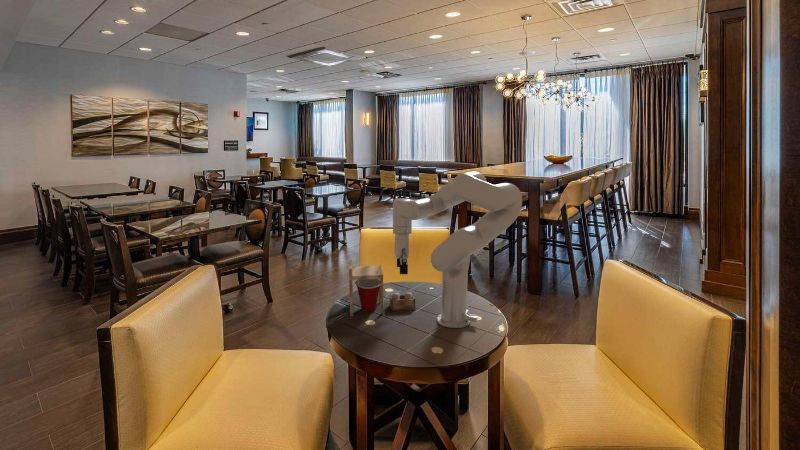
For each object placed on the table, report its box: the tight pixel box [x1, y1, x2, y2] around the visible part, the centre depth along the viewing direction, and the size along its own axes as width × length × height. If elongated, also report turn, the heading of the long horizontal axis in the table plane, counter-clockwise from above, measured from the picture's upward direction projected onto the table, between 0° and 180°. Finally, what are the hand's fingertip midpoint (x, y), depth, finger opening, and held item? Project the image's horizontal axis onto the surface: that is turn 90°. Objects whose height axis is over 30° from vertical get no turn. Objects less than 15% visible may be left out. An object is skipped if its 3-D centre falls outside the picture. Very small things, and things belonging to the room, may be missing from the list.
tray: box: [389, 292, 416, 312], centre depth 177 cm, size 10×6×6 cm, turn 97°
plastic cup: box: [354, 279, 381, 312], centre depth 174 cm, size 11×11×12 cm
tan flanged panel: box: [348, 259, 384, 317], centre depth 174 cm, size 13×13×20 cm
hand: (402, 270), depth 174 cm, fingers open, 9 cm apart
